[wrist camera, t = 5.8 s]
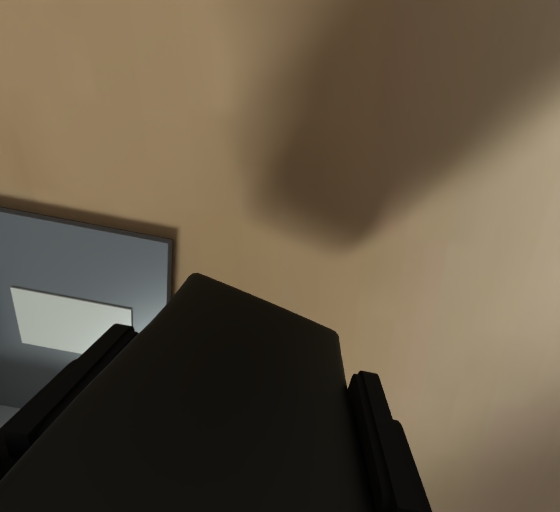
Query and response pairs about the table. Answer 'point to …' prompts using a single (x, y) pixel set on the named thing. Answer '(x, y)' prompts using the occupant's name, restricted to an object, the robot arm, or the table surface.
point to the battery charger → (205, 419)
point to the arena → (69, 294)
